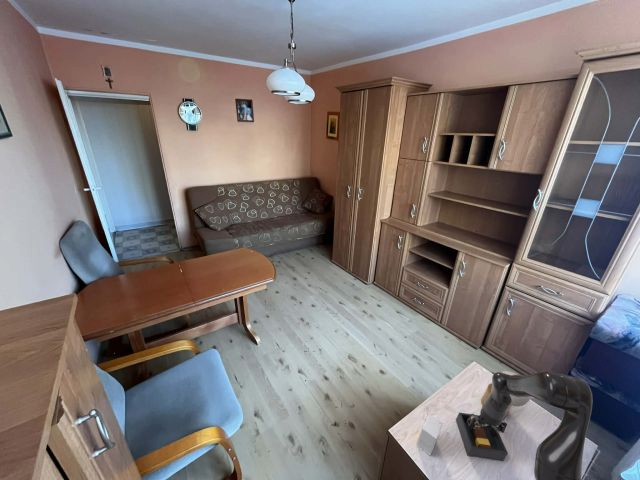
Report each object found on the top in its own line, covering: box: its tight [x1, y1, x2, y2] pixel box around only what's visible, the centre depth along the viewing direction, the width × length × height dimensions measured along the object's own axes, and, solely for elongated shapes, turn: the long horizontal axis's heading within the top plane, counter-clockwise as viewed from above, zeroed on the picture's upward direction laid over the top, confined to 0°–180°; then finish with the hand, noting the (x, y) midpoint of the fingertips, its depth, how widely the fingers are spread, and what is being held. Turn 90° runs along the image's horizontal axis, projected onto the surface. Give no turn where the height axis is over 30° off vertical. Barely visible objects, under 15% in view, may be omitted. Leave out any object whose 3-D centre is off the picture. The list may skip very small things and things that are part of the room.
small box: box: [415, 413, 444, 457], centre depth 113 cm, size 8×6×13 cm
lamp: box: [480, 370, 531, 419], centre depth 125 cm, size 15×14×25 cm
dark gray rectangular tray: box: [455, 412, 509, 462], centre depth 117 cm, size 15×15×6 cm
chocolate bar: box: [472, 424, 491, 449], centre depth 117 cm, size 10×5×3 cm, turn 173°
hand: (481, 433), depth 116 cm, fingers open, 8 cm apart
